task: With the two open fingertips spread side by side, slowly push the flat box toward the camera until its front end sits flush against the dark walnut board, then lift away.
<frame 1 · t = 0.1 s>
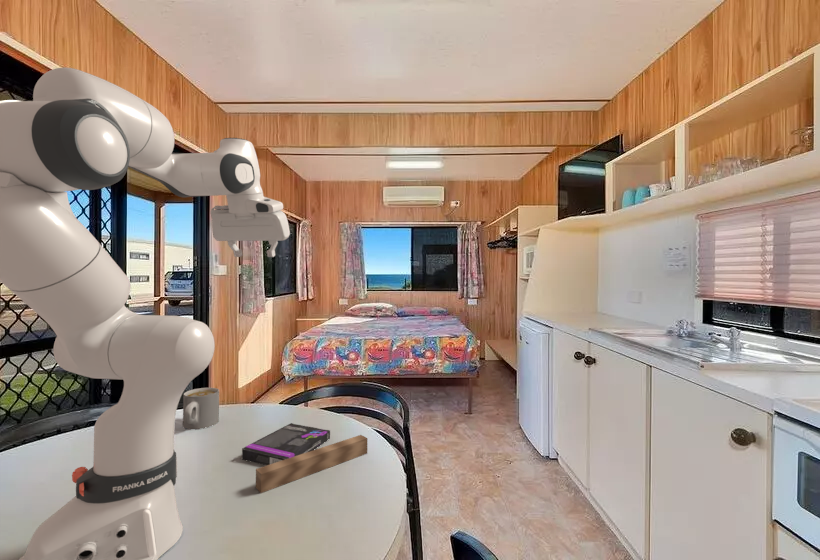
hand: (255, 256, 101), 52 cm above the table, tool tilted 20°, fingers open, 8 cm apart
coffee mug: (197, 426, 116), on the table
box: (288, 451, 101), on the table
walnut board: (316, 468, 90), on the table
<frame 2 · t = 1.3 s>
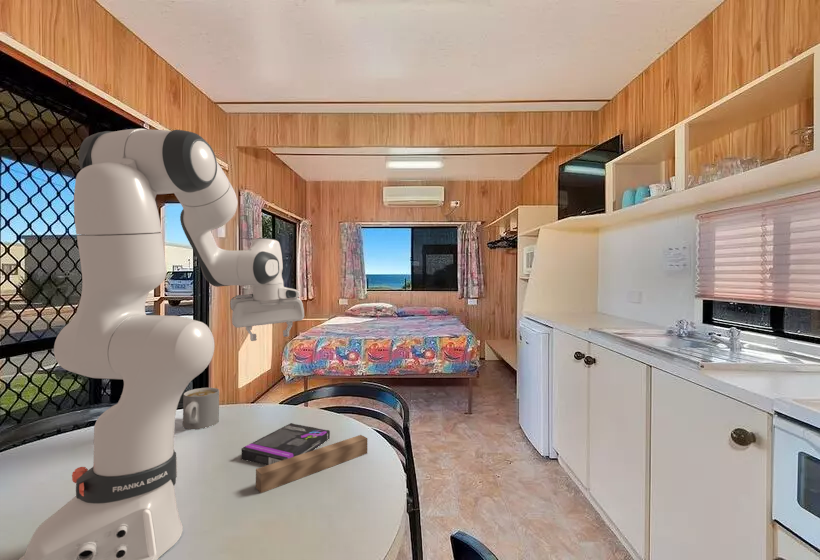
hand: (270, 338, 112), 28 cm above the table, tool pointing down, fingers open, 8 cm apart
nothing on the table moved.
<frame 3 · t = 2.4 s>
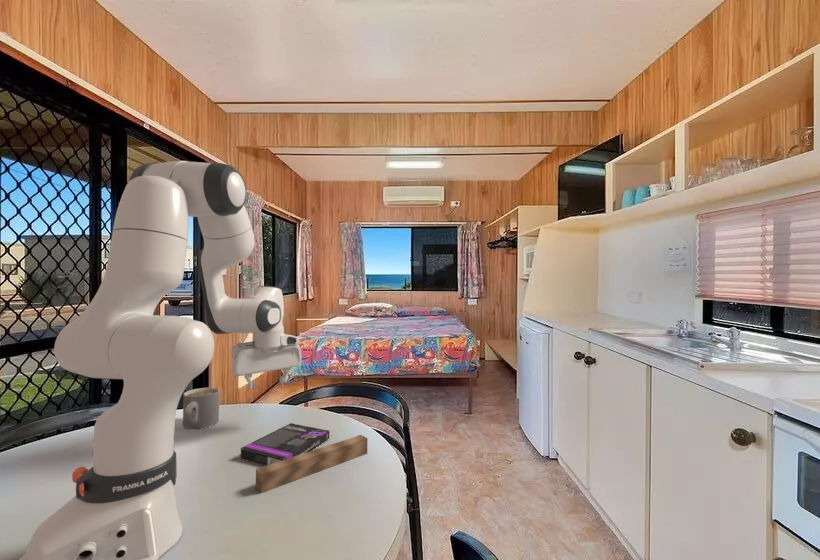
hand: (267, 385, 112), 14 cm above the table, tool pointing down, fingers open, 8 cm apart
nothing on the table moved.
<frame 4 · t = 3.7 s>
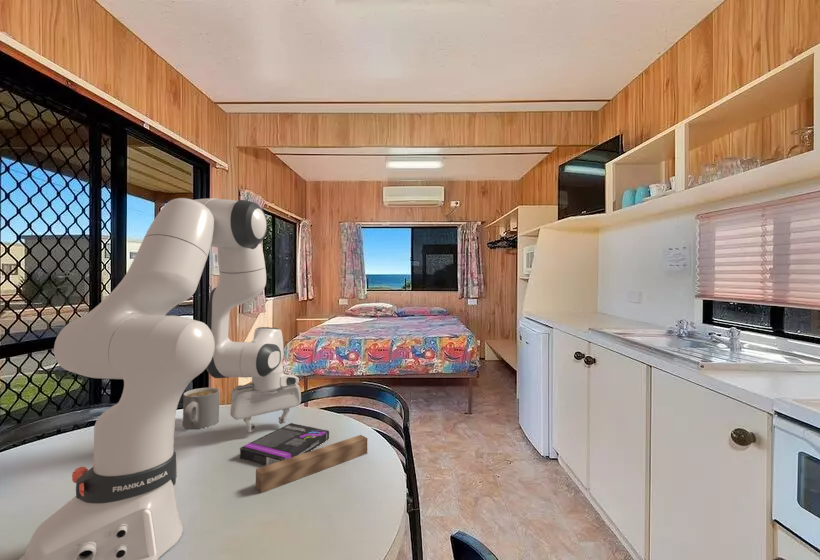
hand: (266, 427, 112), 2 cm above the table, tool pointing down, fingers open, 8 cm apart
nothing on the table moved.
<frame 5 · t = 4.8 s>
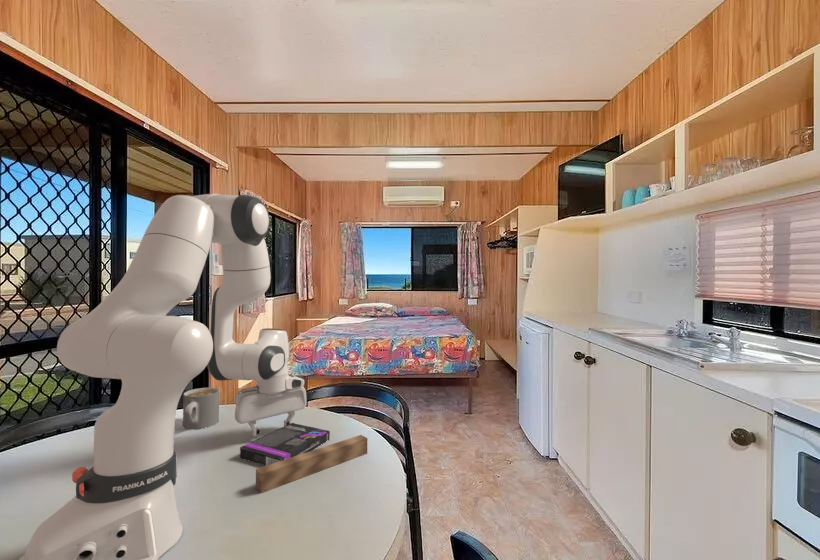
hand: (272, 430, 109), 2 cm above the table, tool pointing down, fingers open, 8 cm apart
box: (287, 450, 101), on the table, touching gripper
everything else where it was.
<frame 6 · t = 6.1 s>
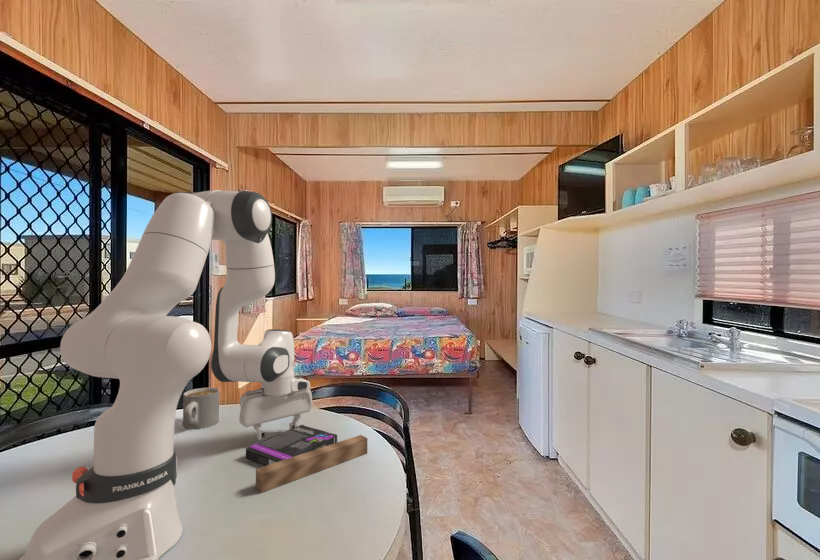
hand: (277, 433, 106), 2 cm above the table, tool pointing down, fingers open, 8 cm apart
box: (293, 453, 100), on the table, touching gripper
everything else where it was.
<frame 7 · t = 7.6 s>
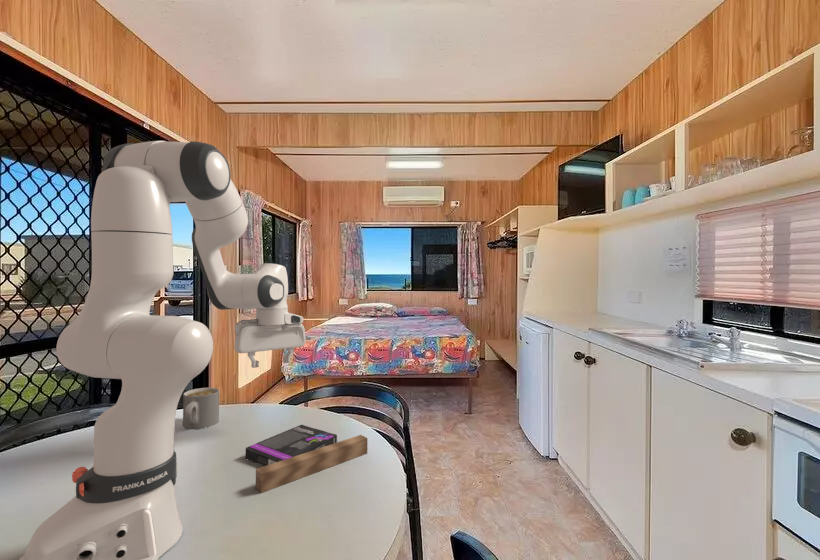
hand: (271, 365, 110), 21 cm above the table, tool pointing down, fingers open, 8 cm apart
box: (293, 453, 100), on the table
everything else where it was.
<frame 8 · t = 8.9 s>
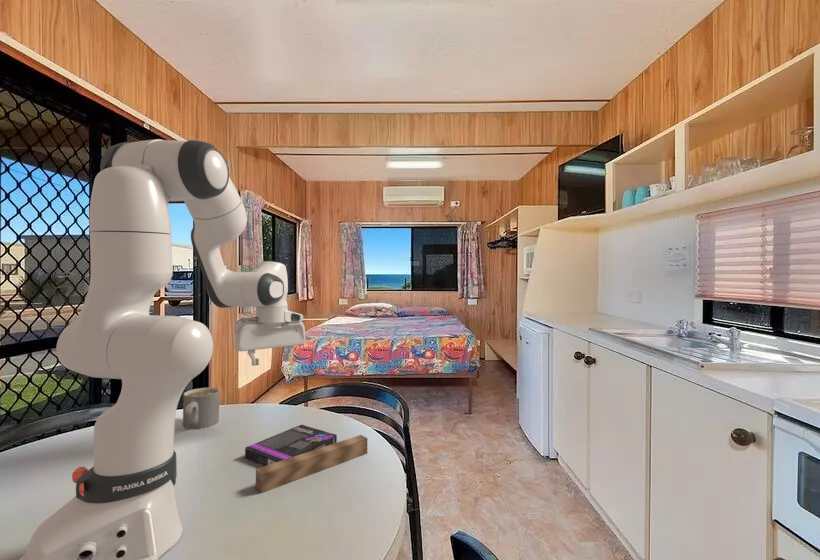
hand: (271, 362, 110), 21 cm above the table, tool pointing down, fingers open, 8 cm apart
nothing on the table moved.
at the end: box 1.4 cm from the target spot on the table beside the walnut board, on the table; box tilted 0° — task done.
